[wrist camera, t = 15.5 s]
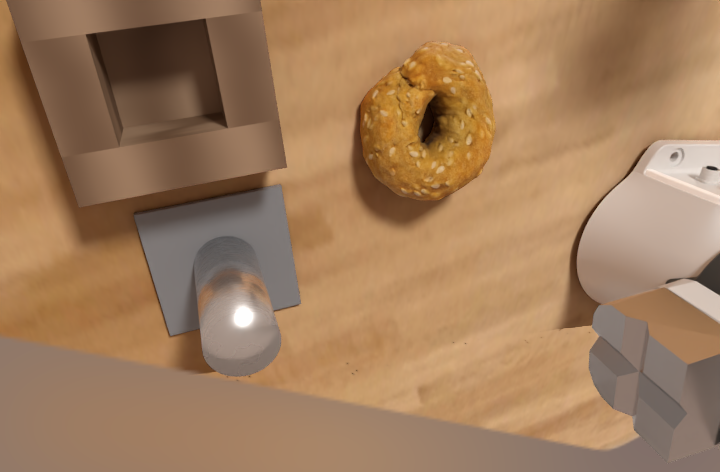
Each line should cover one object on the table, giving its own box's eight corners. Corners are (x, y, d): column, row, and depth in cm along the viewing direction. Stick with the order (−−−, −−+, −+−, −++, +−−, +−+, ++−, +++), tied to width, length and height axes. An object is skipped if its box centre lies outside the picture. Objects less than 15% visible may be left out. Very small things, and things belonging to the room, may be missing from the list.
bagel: (506, 66, 43) (543, 79, 39) (444, 200, 46) (472, 225, 42) (390, 14, 39) (417, 22, 34) (331, 166, 42) (350, 189, 38)
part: (251, 230, 41) (274, 303, 33) (261, 282, 44) (286, 364, 35) (187, 243, 41) (194, 322, 32) (201, 297, 43) (211, 385, 34)
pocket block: (240, -51, 34) (251, -51, 30) (273, 143, 40) (286, 167, 35) (20, -28, 31) (-3, -24, 27) (88, 177, 37) (79, 207, 33)
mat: (280, 184, 41) (281, 186, 41) (300, 301, 46) (300, 303, 45) (133, 213, 39) (133, 215, 39) (170, 332, 44) (170, 335, 43)
